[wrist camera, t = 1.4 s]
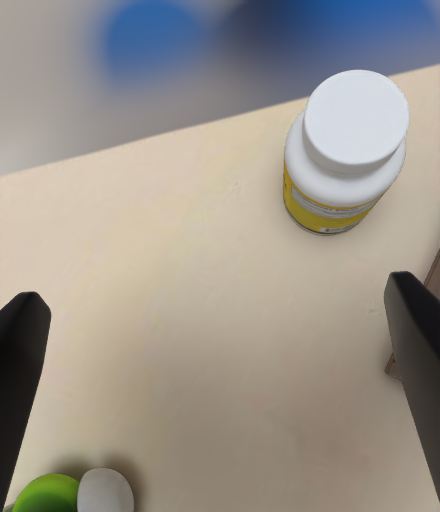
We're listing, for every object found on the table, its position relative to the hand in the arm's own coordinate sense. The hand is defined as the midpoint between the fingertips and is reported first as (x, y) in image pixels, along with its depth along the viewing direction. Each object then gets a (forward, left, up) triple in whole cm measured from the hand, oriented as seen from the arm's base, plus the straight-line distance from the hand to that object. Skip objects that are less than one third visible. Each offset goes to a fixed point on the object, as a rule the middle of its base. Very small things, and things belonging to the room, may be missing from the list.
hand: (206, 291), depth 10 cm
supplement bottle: (+4, -8, -15) cm, 17 cm away
